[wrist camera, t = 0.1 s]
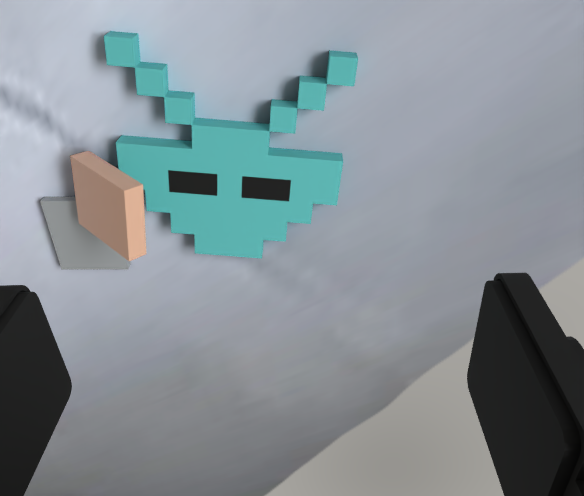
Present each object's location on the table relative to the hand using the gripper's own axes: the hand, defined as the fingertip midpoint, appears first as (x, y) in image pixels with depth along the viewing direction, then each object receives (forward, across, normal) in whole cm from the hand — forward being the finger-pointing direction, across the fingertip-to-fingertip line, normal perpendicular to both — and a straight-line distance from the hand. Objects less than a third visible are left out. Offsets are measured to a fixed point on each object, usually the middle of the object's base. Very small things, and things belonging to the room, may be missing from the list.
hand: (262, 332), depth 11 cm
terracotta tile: (+30, +14, +15) cm, 36 cm away
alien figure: (+37, +6, +12) cm, 40 cm away
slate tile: (+38, +21, +20) cm, 47 cm away
